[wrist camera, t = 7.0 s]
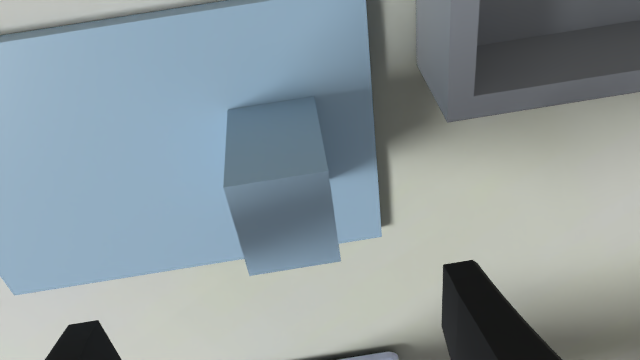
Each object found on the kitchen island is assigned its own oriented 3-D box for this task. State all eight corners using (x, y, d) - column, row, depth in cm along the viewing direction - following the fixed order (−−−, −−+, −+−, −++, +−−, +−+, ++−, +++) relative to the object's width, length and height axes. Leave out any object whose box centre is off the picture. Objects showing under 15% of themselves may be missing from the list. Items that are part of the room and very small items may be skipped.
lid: (376, 216, 20) (404, 317, 16) (23, 273, 19) (-25, 386, 16) (358, -28, 14) (394, 45, 11) (-130, 48, 14) (-252, 146, 11)
